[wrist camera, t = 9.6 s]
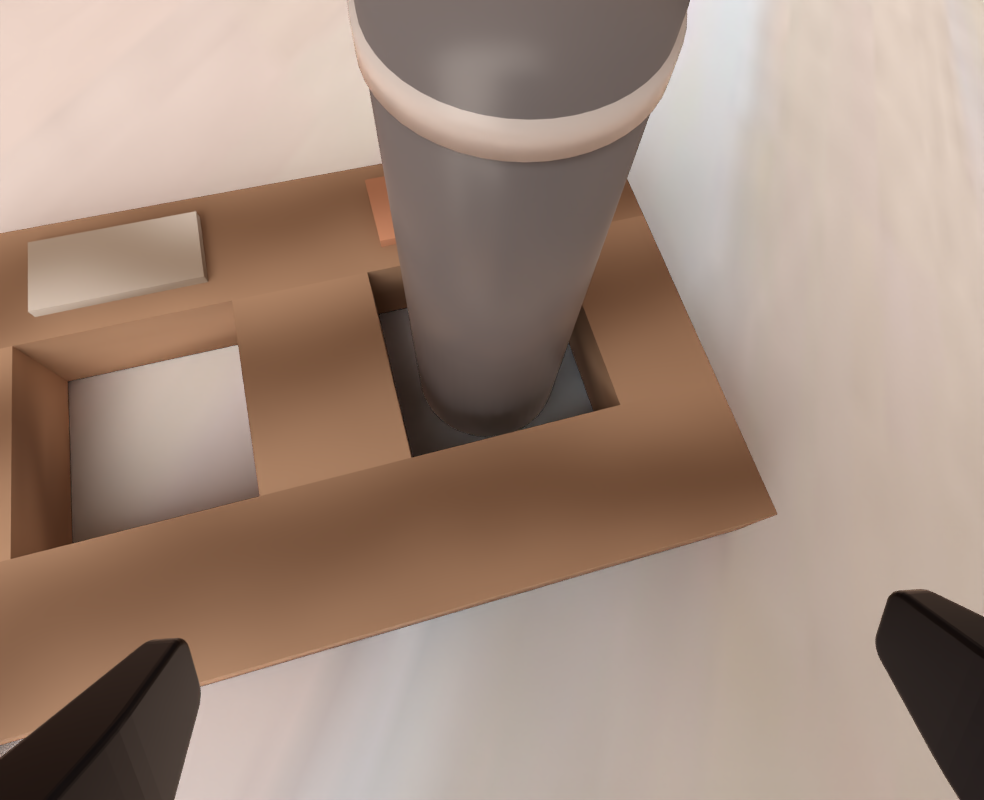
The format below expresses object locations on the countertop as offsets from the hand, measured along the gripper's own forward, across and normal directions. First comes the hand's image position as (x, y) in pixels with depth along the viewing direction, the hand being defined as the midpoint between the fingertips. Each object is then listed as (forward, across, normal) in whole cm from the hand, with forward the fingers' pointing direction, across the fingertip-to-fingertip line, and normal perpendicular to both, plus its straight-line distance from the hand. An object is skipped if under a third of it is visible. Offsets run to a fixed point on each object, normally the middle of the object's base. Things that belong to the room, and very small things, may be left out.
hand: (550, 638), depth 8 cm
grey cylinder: (+13, 0, +1) cm, 13 cm away
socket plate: (+12, +5, +2) cm, 13 cm away
